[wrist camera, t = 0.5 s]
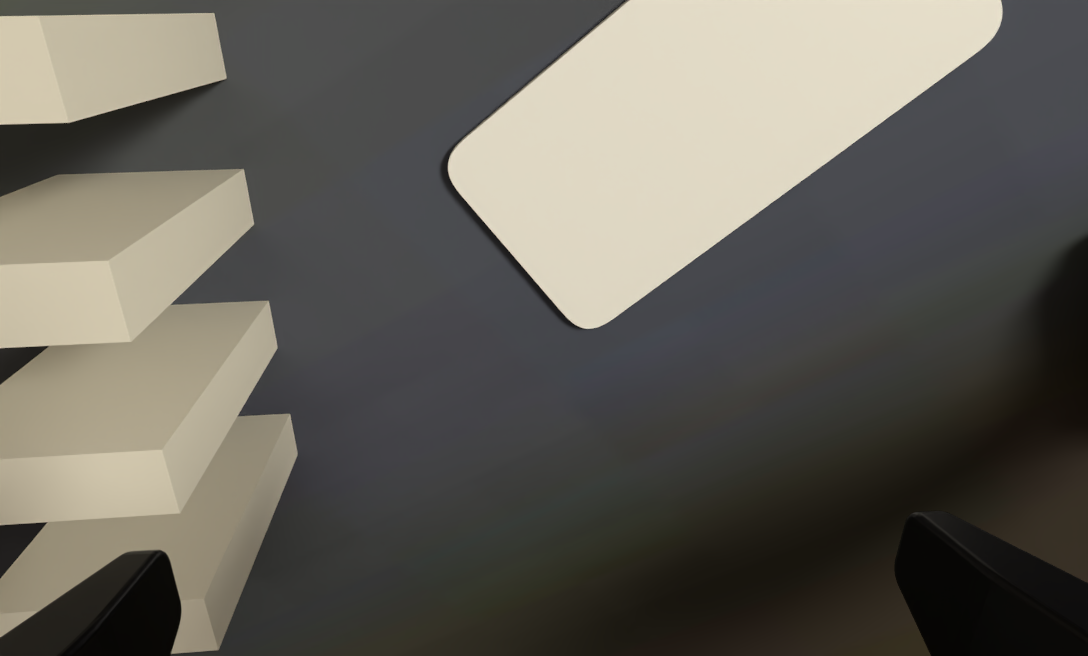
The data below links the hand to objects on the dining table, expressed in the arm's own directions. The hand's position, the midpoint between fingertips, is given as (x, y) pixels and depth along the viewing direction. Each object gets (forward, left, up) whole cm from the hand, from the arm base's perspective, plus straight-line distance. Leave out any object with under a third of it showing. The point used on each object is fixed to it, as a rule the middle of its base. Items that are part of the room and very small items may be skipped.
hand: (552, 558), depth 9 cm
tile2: (-7, +10, -14) cm, 18 cm away
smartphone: (+4, -6, -15) cm, 16 cm away
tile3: (-3, +10, -14) cm, 17 cm away
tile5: (+5, +10, -14) cm, 18 cm away
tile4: (+1, +10, -14) cm, 17 cm away
